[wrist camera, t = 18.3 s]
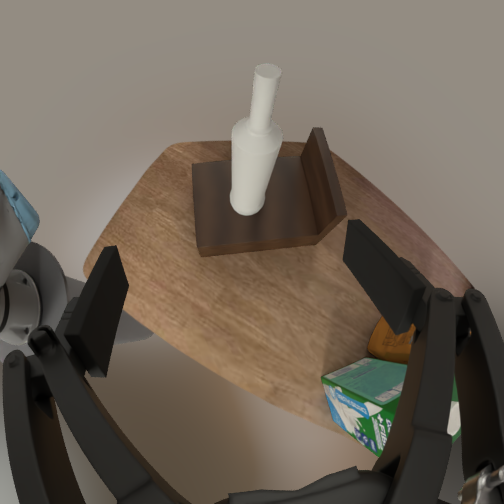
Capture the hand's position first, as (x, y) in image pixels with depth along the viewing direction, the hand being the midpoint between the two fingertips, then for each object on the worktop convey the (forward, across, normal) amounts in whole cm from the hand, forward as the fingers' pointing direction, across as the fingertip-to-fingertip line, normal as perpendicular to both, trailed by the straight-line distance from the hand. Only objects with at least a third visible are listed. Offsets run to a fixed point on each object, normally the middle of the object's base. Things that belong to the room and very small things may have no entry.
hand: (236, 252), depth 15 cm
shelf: (+31, +5, -11) cm, 34 cm away
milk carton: (+8, +18, -35) cm, 40 cm away
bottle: (+27, +4, -8) cm, 28 cm away
